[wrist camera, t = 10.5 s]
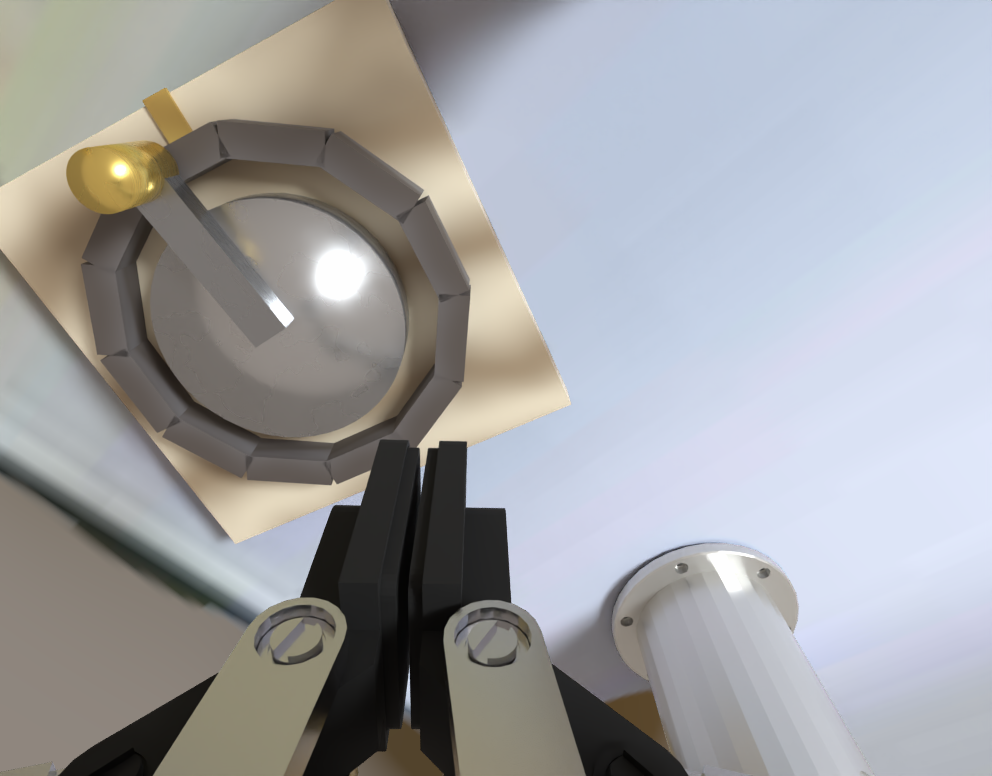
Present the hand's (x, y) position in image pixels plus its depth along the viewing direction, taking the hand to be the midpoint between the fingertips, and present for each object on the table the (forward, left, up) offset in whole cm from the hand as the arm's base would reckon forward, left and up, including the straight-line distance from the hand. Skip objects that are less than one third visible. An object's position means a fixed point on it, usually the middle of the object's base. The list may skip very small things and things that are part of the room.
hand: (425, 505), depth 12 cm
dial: (+3, +9, -21) cm, 23 cm away
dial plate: (+1, +9, -23) cm, 25 cm away
